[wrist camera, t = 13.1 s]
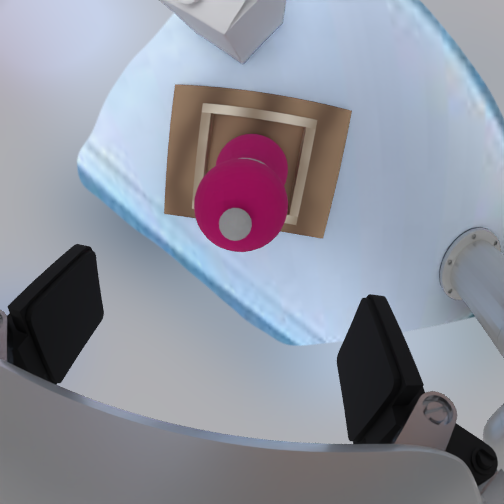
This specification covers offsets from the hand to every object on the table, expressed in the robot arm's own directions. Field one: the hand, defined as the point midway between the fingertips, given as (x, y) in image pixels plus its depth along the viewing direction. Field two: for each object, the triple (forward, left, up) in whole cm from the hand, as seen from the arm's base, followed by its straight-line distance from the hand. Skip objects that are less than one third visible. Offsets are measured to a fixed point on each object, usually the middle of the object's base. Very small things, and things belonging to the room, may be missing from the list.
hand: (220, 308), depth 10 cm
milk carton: (+4, -16, -28) cm, 32 cm away
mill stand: (0, 0, -28) cm, 28 cm away
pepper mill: (0, 0, -27) cm, 27 cm away
